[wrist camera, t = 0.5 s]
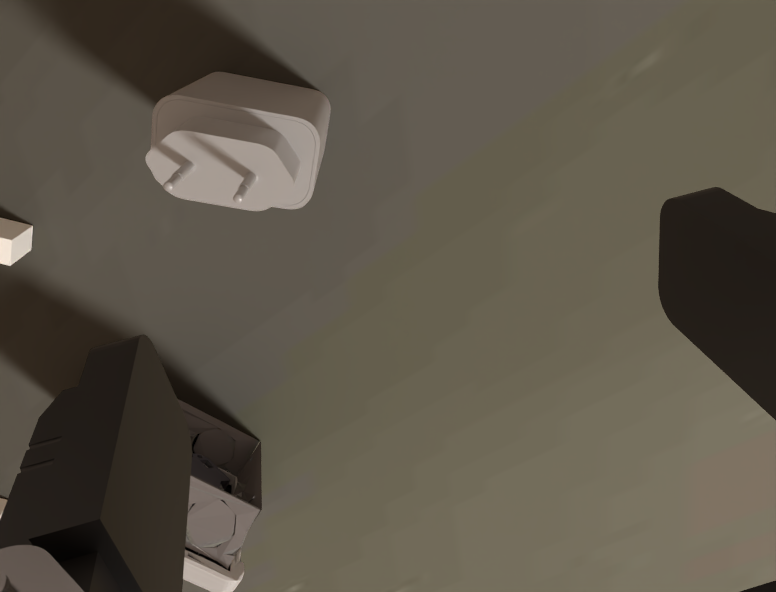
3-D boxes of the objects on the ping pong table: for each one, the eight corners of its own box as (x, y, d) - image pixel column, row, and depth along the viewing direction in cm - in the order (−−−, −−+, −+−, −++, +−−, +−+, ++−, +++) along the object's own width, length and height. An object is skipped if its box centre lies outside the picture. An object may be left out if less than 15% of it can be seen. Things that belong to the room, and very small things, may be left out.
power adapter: (322, 165, 30) (296, 264, 19) (197, 142, 29) (96, 230, 18) (333, 93, 29) (312, 154, 18) (203, 68, 28) (99, 115, 17)
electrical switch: (78, 416, 35) (-5, 536, 26) (126, 336, 34) (55, 434, 25) (239, 495, 37) (213, 630, 29) (289, 424, 36) (278, 541, 27)
